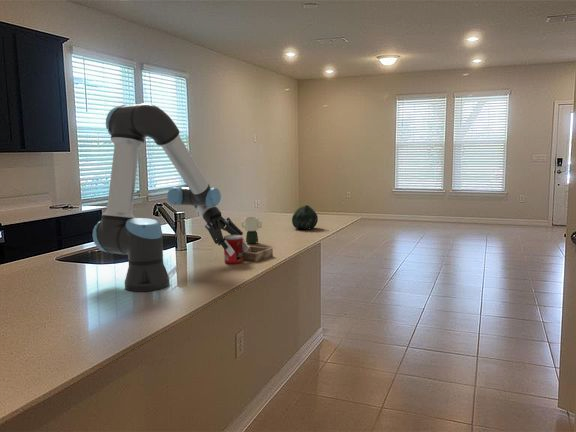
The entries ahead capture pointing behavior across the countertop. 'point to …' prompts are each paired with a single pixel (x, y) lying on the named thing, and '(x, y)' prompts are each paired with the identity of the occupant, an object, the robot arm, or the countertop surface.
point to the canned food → (237, 246)
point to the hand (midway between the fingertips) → (240, 251)
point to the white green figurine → (251, 228)
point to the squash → (304, 218)
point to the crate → (257, 253)
